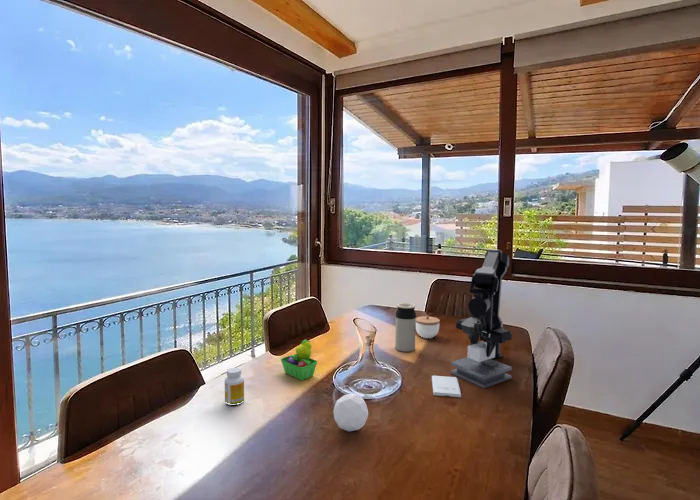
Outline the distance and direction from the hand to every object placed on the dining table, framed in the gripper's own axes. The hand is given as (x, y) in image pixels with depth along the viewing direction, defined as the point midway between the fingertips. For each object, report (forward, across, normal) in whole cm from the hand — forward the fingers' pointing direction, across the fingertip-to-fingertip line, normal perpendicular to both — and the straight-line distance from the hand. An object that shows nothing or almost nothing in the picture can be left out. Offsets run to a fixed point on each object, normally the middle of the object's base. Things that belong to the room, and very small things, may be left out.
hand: (481, 354), depth 135 cm
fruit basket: (+8, -34, -51) cm, 62 cm away
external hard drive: (+8, 0, -17) cm, 19 cm away
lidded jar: (+8, -41, +15) cm, 44 cm away
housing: (+1, 0, 0) cm, 1 cm away
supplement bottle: (+8, -26, -76) cm, 81 cm away
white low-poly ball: (+8, +3, -54) cm, 55 cm away
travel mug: (+8, -34, -4) cm, 35 cm away
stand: (+8, 0, 0) cm, 8 cm away
